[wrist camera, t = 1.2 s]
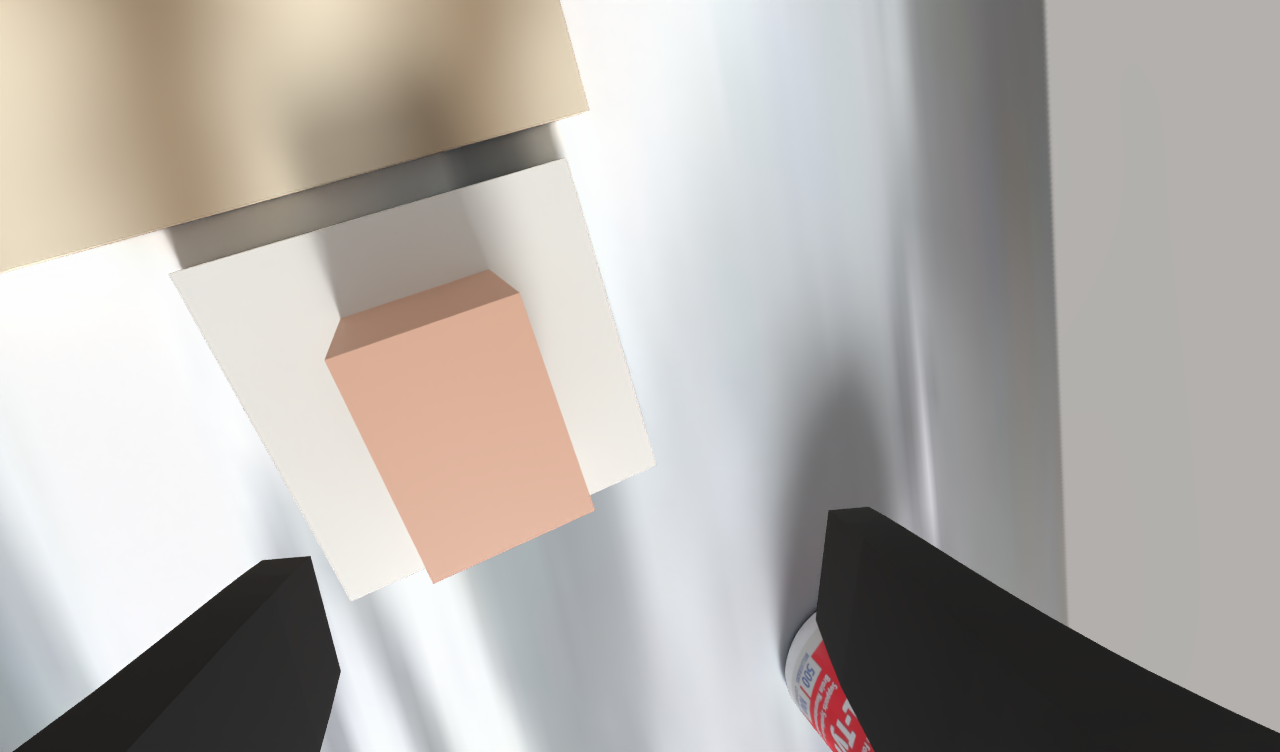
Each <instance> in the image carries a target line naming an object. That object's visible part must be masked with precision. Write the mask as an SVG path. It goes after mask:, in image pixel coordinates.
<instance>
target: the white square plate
mask: <svg viewBox="0 0 1280 752" xmlns="http://www.w3.org/2000/svg"><path fill="white" fill-rule="evenodd" d="M486 270H491V271H492V272H493V273H495V274H496V275H497V276H498V277H500V278H501V279H502V280H504V281H505V282H506V283H508V284H509V285H510V286H512V287H513V288H514V289H516V290H517V291H518V292H520V295H521V298H522V300H523V303H524V306H525V309H526V312H527V315H528V318H529V321H530V324H531V326H532V329H533V332H534V335H535V338H536V341H537V344H538V347H539V350H540V353H541V355H542V358H543V361H544V364H545V367H546V370H547V373H548V376H549V379H550V381H551V384H552V387H553V390H554V393H555V396H556V399H557V402H558V405H559V407H560V410H561V413H562V416H563V419H564V422H565V425H566V428H567V431H568V433H569V436H570V439H571V442H572V445H573V448H574V451H575V454H576V457H577V459H578V462H579V465H580V468H581V471H582V474H583V477H584V480H585V483H586V485H587V488H588V491H589V494H590V495H591V494H593V493H596V492H598V491H600V490H602V489H604V488H607V487H609V486H611V485H613V484H616V483H618V482H620V481H622V480H625V479H627V478H629V477H631V476H634V475H636V474H638V473H640V472H643V471H645V470H647V469H649V468H652V467H654V466H656V462H655V459H654V456H653V452H652V449H651V445H650V442H649V438H648V435H647V432H646V428H645V425H644V421H643V418H642V414H641V411H640V408H639V404H638V401H637V397H636V394H635V391H634V387H633V384H632V380H631V377H630V373H629V370H628V367H627V363H626V360H625V356H624V353H623V350H622V346H621V343H620V339H619V336H618V332H617V329H616V326H615V322H614V319H613V315H612V312H611V309H610V305H609V302H608V298H607V295H606V291H605V288H604V285H603V281H602V278H601V274H600V271H599V268H598V264H597V261H596V257H595V254H594V250H593V247H592V244H591V240H590V237H589V233H588V230H587V226H586V223H585V220H584V216H583V213H582V209H581V206H580V203H579V199H578V196H577V192H576V189H575V185H574V182H573V179H572V175H571V172H570V168H569V165H568V162H567V158H563V159H558V160H554V161H551V162H547V163H544V164H541V165H537V166H534V167H530V168H527V169H523V170H520V171H517V172H513V173H510V174H506V175H503V176H500V177H496V178H493V179H489V180H486V181H482V182H479V183H476V184H472V185H469V186H465V187H462V188H458V189H455V190H452V191H448V192H445V193H441V194H438V195H435V196H431V197H428V198H424V199H421V200H417V201H414V202H411V203H407V204H404V205H400V206H397V207H393V208H390V209H387V210H383V211H380V212H376V213H373V214H370V215H366V216H363V217H359V218H356V219H352V220H349V221H346V222H342V223H339V224H335V225H332V226H328V227H325V228H322V229H318V230H315V231H311V232H308V233H305V234H301V235H298V236H294V237H291V238H287V239H284V240H281V241H277V242H274V243H270V244H267V245H264V246H260V247H257V248H253V249H250V250H246V251H243V252H240V253H236V254H233V255H229V256H226V257H222V258H219V259H216V260H212V261H209V262H205V263H202V264H199V265H195V266H192V267H188V268H185V269H181V270H179V271H176V272H173V273H170V274H169V276H170V278H171V279H172V281H173V283H174V285H175V287H176V288H177V290H178V292H179V294H180V296H181V297H182V299H183V301H184V303H185V305H186V306H187V308H188V310H189V312H190V314H191V315H192V317H193V319H194V321H195V323H196V324H197V326H198V328H199V330H200V331H201V333H202V335H203V337H204V339H205V340H206V342H207V344H208V346H209V348H210V349H211V351H212V353H213V355H214V357H215V358H216V360H217V362H218V364H219V366H220V367H221V369H222V371H223V373H224V375H225V376H226V378H227V380H228V382H229V384H230V385H231V387H232V389H233V391H234V393H235V394H236V396H237V398H238V400H239V401H240V403H241V405H242V407H243V409H244V410H245V412H246V414H247V416H248V418H249V419H250V421H251V423H252V425H253V427H254V428H255V430H256V432H257V434H258V436H259V437H260V439H261V441H262V443H263V445H264V446H265V448H266V450H267V452H268V454H269V455H270V457H271V459H272V461H273V462H274V464H275V466H276V468H277V470H278V471H279V473H280V475H281V477H282V479H283V480H284V482H285V484H286V486H287V488H288V489H289V491H290V493H291V495H292V497H293V498H294V500H295V502H296V504H297V506H298V507H299V509H300V511H301V513H302V515H303V516H304V518H305V520H306V522H307V524H308V525H309V527H310V529H311V531H312V532H313V534H314V536H315V538H316V540H317V541H318V543H319V545H320V547H321V549H322V550H323V552H324V554H325V556H326V558H327V559H328V561H329V563H330V565H331V567H332V568H333V570H334V572H335V574H336V576H337V577H338V579H339V581H340V583H341V585H342V586H343V588H344V590H345V592H346V593H347V595H348V597H349V599H350V601H354V600H356V599H358V598H360V597H362V596H365V595H367V594H369V593H371V592H374V591H376V590H378V589H380V588H383V587H385V586H387V585H389V584H392V583H394V582H396V581H398V580H401V579H403V578H405V577H407V576H410V575H412V574H414V573H416V572H419V571H421V570H423V569H425V566H424V564H423V562H422V560H421V557H420V555H419V553H418V551H417V549H416V547H415V545H414V543H413V541H412V539H411V537H410V535H409V533H408V531H407V529H406V527H405V525H404V523H403V521H402V519H401V516H400V514H399V512H398V510H397V508H396V506H395V504H394V502H393V500H392V498H391V496H390V494H389V492H388V490H387V488H386V486H385V484H384V482H383V480H382V477H381V475H380V473H379V471H378V469H377V467H376V465H375V463H374V461H373V459H372V457H371V455H370V453H369V451H368V449H367V447H366V445H365V443H364V441H363V439H362V436H361V434H360V432H359V430H358V428H357V426H356V424H355V422H354V420H353V418H352V416H351V414H350V412H349V410H348V408H347V406H346V404H345V402H344V400H343V397H342V395H341V393H340V391H339V389H338V387H337V385H336V383H335V381H334V379H333V377H332V375H331V373H330V371H329V369H328V367H327V365H326V363H325V361H324V360H325V357H326V355H327V352H328V349H329V347H330V344H331V342H332V339H333V337H334V334H335V331H336V329H337V326H338V324H339V321H340V319H341V318H343V317H346V316H349V315H353V314H356V313H359V312H362V311H365V310H368V309H371V308H374V307H377V306H380V305H383V304H386V303H389V302H392V301H395V300H398V299H401V298H404V297H407V296H410V295H413V294H416V293H419V292H422V291H425V290H428V289H431V288H434V287H437V286H440V285H443V284H446V283H449V282H452V281H455V280H458V279H461V278H464V277H467V276H470V275H473V274H476V273H480V272H483V271H486Z"/></svg>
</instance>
